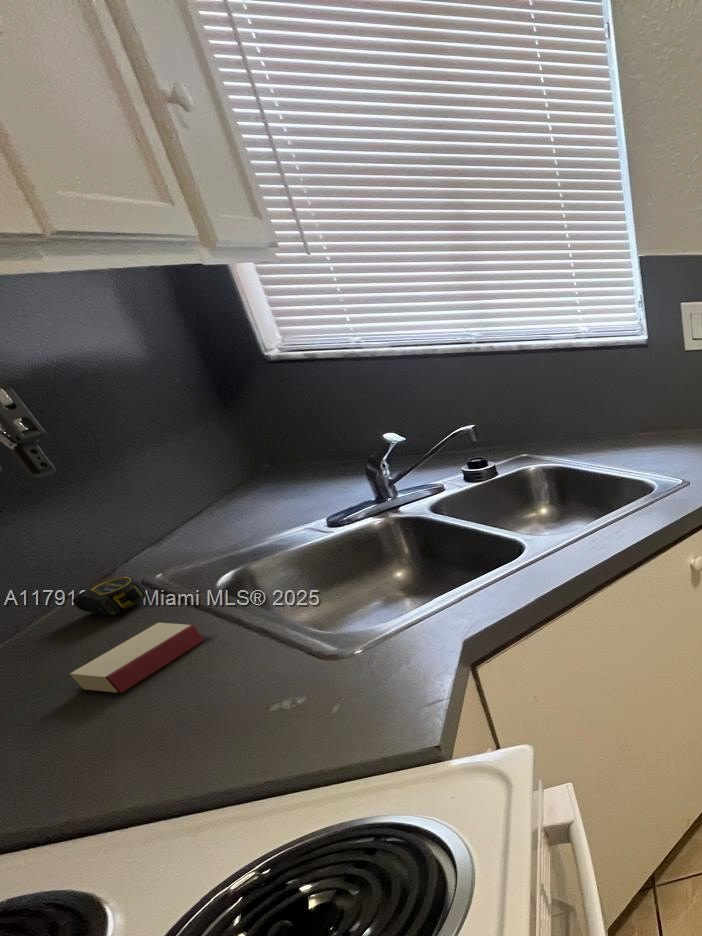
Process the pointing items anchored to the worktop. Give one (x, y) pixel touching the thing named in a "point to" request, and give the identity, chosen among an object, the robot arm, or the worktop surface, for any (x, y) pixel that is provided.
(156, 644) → the pocket book
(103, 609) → the tape measure
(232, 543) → the worktop surface
